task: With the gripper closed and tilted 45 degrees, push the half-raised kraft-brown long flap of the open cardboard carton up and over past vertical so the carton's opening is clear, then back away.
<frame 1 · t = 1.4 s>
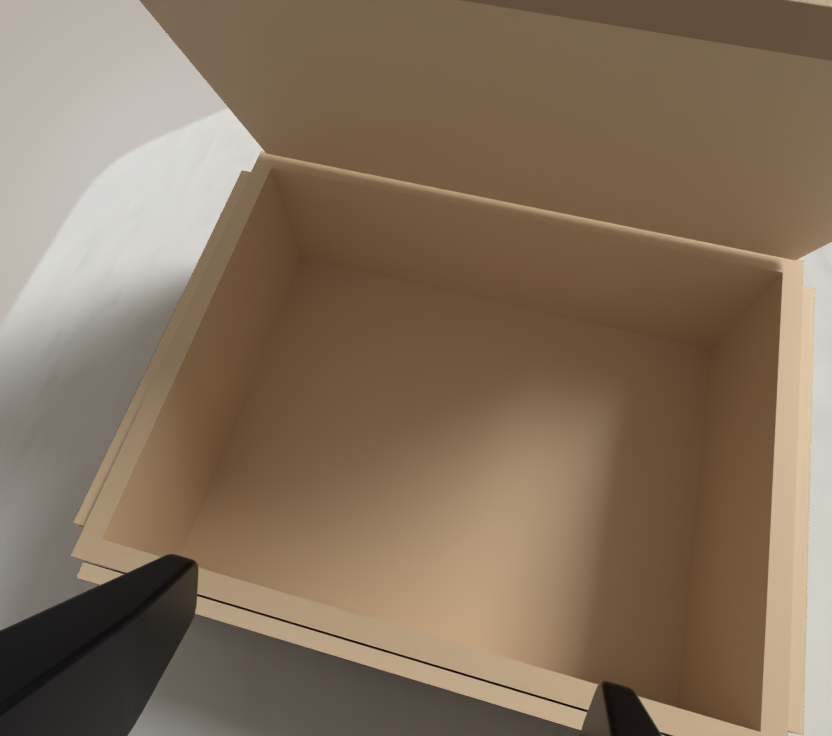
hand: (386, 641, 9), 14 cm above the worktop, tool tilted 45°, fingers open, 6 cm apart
carton flap: (530, 119, 15), point 12 cm above the worktop, hinge at 70.0°
carton: (460, 454, 24), on the worktop
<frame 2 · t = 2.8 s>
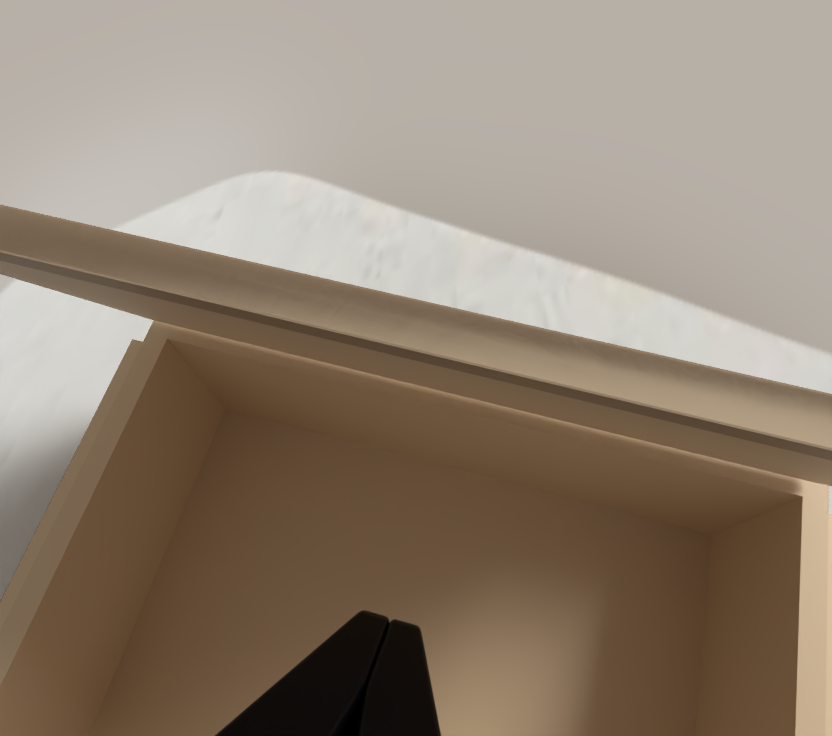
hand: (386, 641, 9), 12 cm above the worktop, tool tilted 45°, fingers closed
carton flap: (461, 374, 11), point 12 cm above the worktop, hinge at 70.0°
carton: (405, 670, 20), on the worktop
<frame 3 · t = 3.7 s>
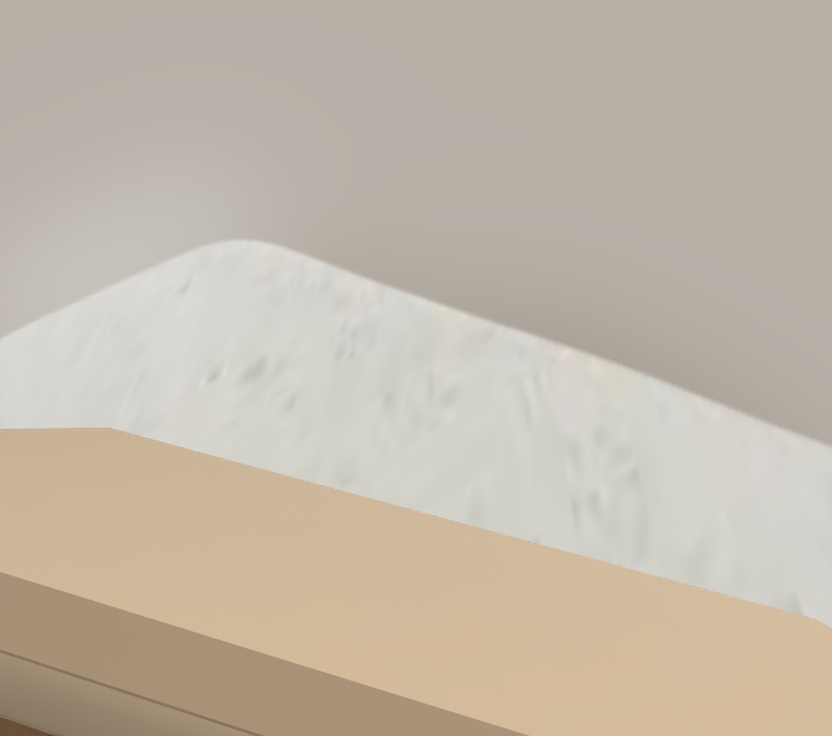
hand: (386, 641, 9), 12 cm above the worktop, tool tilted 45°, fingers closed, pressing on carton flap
carton flap: (406, 582, 10), point 12 cm above the worktop, hinge at 70.0°, touching gripper
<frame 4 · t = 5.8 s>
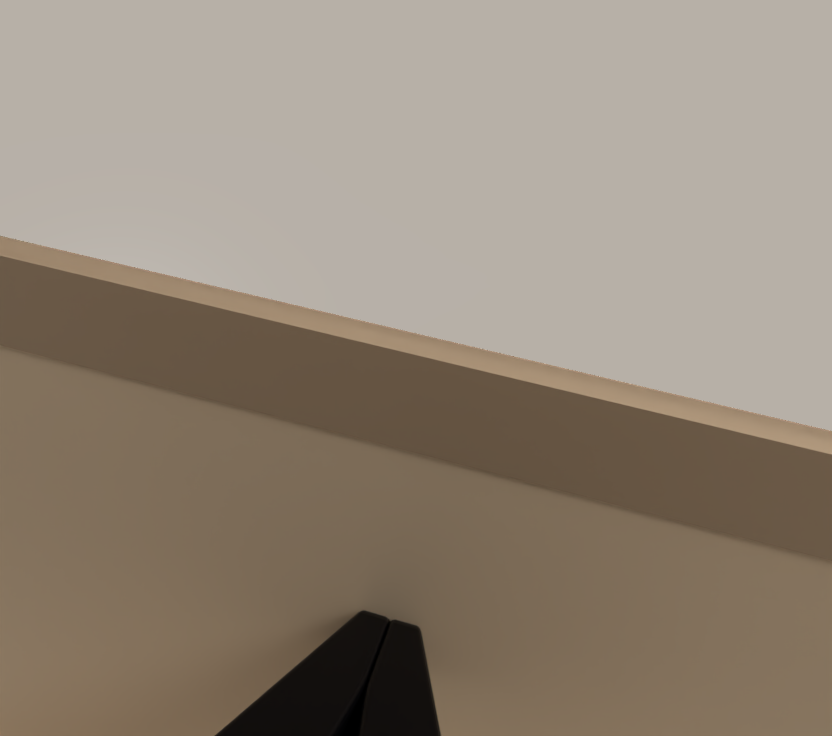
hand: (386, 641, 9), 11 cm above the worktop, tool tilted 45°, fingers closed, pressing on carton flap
carton flap: (382, 674, 9), point 11 cm above the worktop, hinge at 127.5°, touching gripper
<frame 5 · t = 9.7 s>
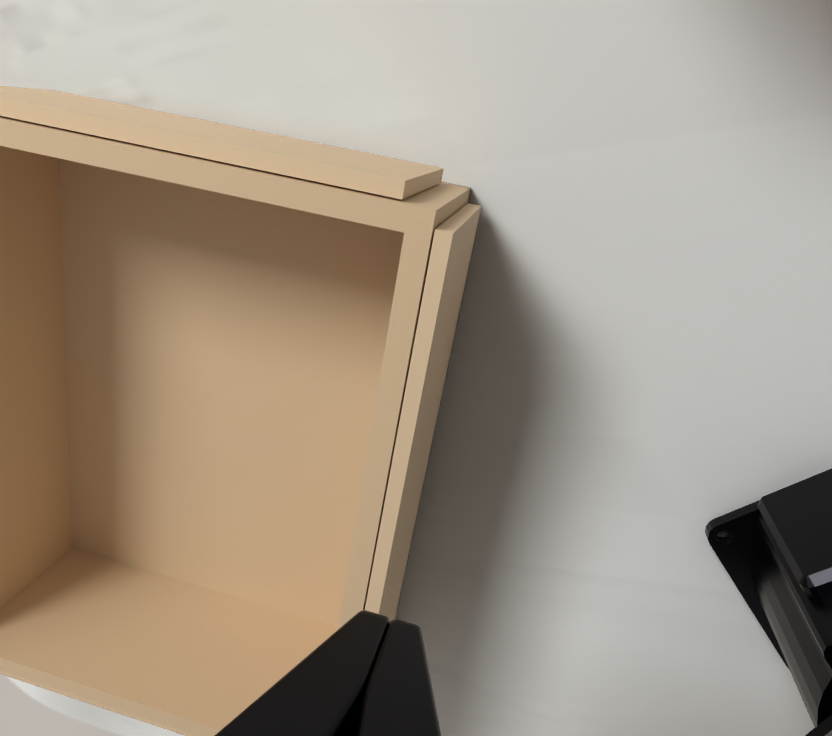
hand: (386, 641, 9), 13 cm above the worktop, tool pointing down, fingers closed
carton: (233, 400, 23), on the worktop
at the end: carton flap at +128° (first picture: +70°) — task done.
